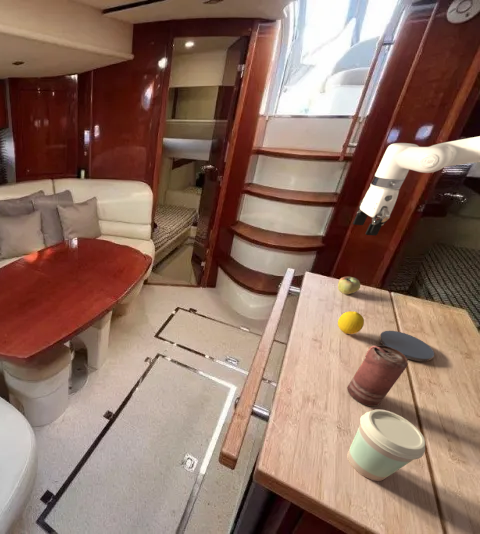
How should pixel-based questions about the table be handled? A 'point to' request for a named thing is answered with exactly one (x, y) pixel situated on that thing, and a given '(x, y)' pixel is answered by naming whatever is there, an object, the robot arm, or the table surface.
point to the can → (377, 375)
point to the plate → (407, 345)
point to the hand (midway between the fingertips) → (364, 229)
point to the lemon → (350, 322)
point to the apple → (348, 285)
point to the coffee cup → (384, 444)
